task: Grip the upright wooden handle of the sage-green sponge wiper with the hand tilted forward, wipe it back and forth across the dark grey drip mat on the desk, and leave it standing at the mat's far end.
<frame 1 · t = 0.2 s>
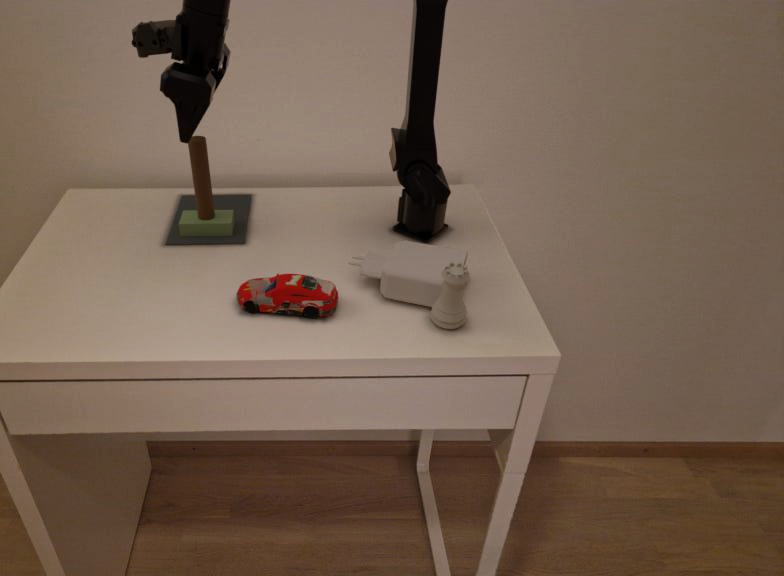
hand: (190, 130, 84), 15 cm above the table, tool tilted 15°, fingers open, 9 cm apart
race car: (287, 306, 78), on the table
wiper: (208, 229, 93), resting on drip mat
charger: (402, 286, 81), on the table, touching rook chess piece
drip mat: (211, 218, 96), on the table
rook chess piece: (447, 319, 74), on the table, touching charger
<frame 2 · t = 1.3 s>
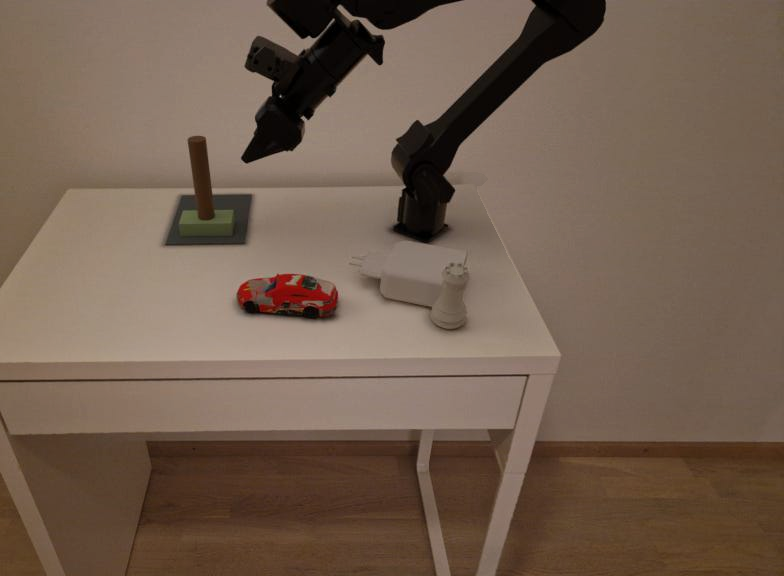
hand: (249, 148, 84), 13 cm above the table, tool tilted 45°, fingers open, 9 cm apart
nothing on the table moved.
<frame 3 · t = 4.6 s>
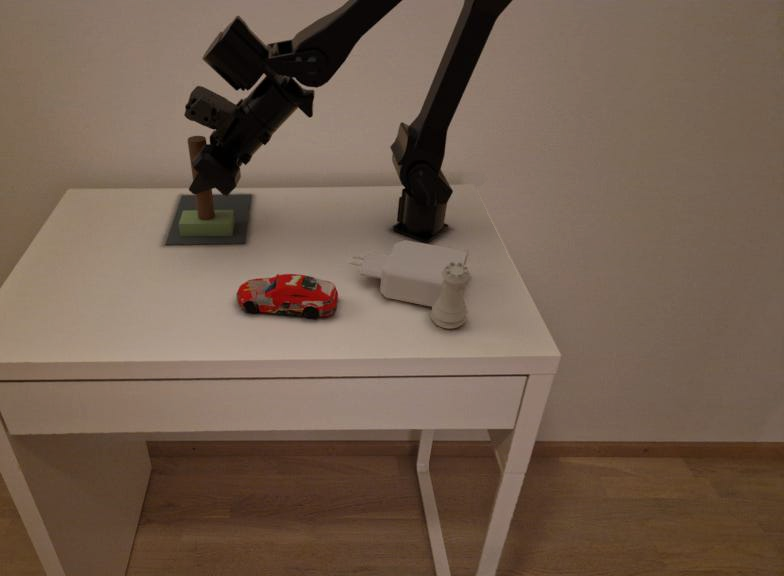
hand: (193, 187, 89), 7 cm above the table, tool tilted 45°, fingers closed on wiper, 2 cm apart
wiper: (208, 229, 93), resting on drip mat, touching gripper
everything else where it was.
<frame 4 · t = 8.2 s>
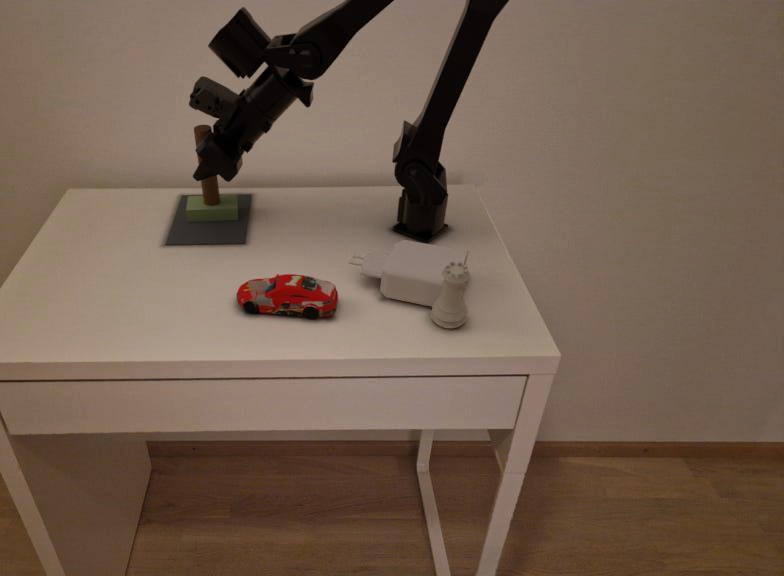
hand: (197, 174, 92), 7 cm above the table, tool tilted 45°, fingers closed on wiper, 2 cm apart
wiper: (213, 214, 97), resting on drip mat, touching gripper
everything else where it was.
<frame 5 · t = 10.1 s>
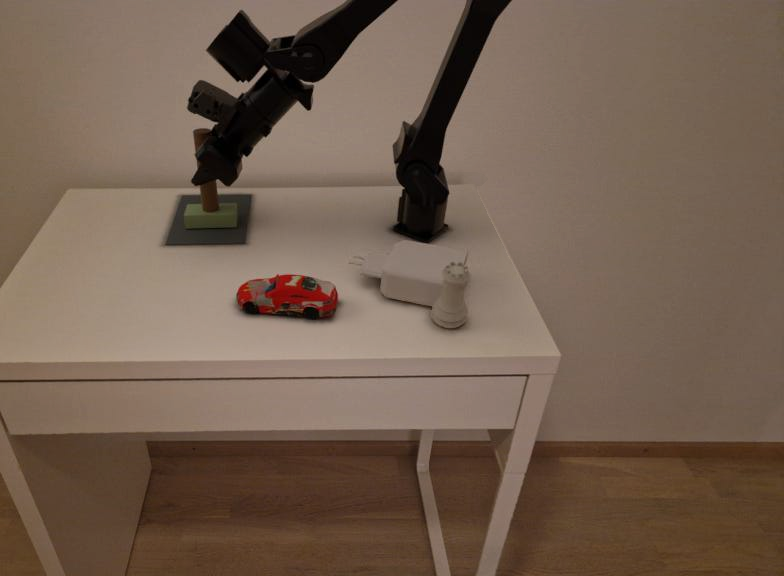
hand: (195, 179, 91), 7 cm above the table, tool tilted 45°, fingers closed on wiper, 2 cm apart
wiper: (212, 222, 95), resting on drip mat, touching gripper
everything else where it was.
when the fingers open (7 cm above the table, at t = 11.7 s): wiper stays where it is, resting on drip mat.
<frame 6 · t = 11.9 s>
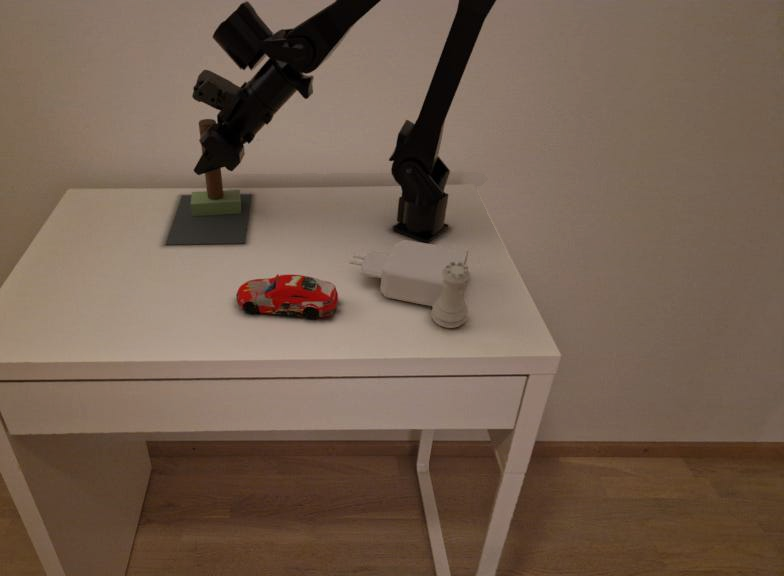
hand: (200, 165, 95), 7 cm above the table, tool tilted 45°, fingers open, 5 cm apart
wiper: (217, 208, 98), resting on drip mat
everything else where it was.
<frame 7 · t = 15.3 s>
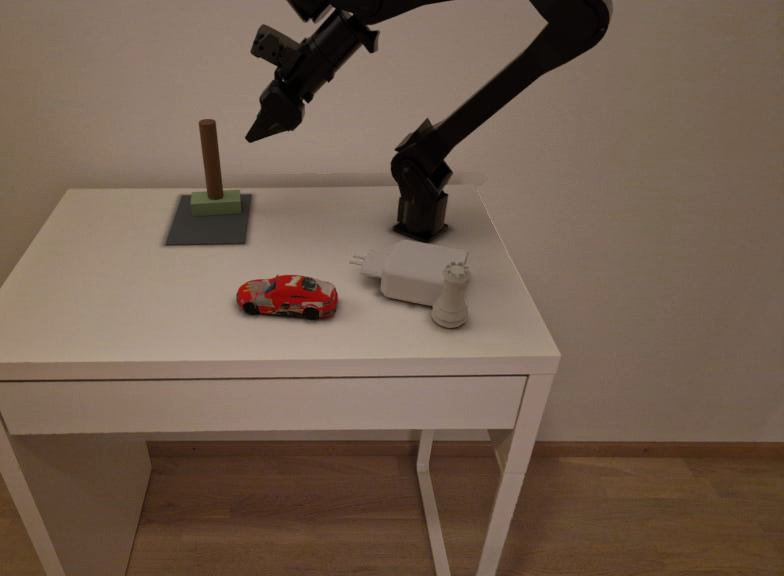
hand: (253, 129, 90), 13 cm above the table, tool tilted 45°, fingers open, 9 cm apart
nothing on the table moved.
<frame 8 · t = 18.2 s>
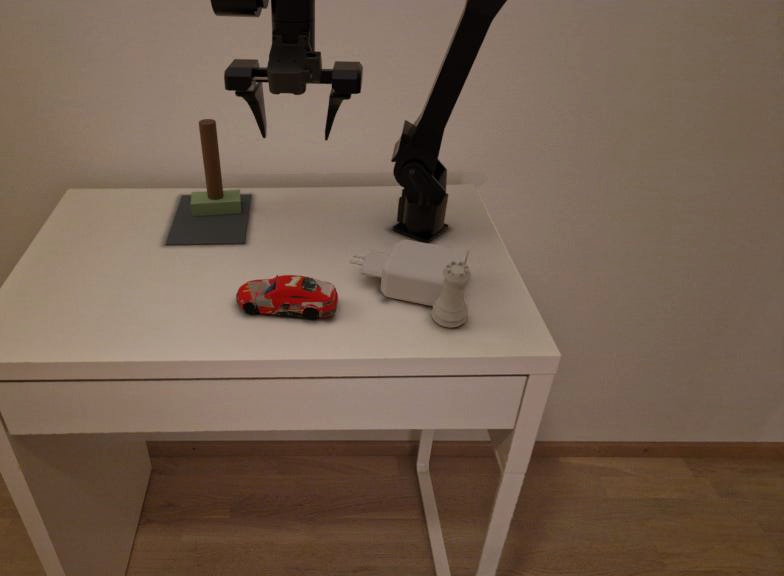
hand: (295, 138, 87), 13 cm above the table, tool pointing down, fingers open, 9 cm apart
nothing on the table moved.
at the end: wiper 1.2 cm from the target spot on the drip mat, point 0.2 cm above the drip mat's base; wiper tilted 0°; rook chess piece moved 0.6 cm from its start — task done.
